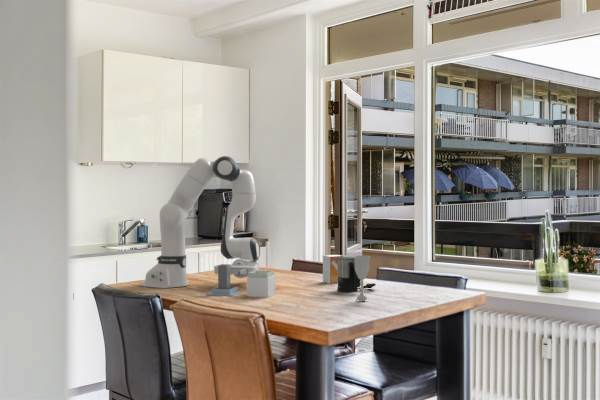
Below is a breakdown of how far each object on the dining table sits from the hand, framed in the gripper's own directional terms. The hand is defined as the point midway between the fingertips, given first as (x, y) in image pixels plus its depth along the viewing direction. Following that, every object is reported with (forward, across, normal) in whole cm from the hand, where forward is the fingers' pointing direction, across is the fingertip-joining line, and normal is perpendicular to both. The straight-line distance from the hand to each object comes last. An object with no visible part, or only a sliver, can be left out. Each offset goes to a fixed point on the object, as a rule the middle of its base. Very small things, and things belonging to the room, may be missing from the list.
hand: (229, 272), depth 279 cm
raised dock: (+6, +17, +9) cm, 20 cm away
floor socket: (+6, 0, +8) cm, 10 cm away
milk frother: (-18, +54, +9) cm, 57 cm away
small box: (-38, +38, +9) cm, 55 cm away
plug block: (+6, 0, +8) cm, 10 cm away
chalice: (+8, +61, +9) cm, 62 cm away
